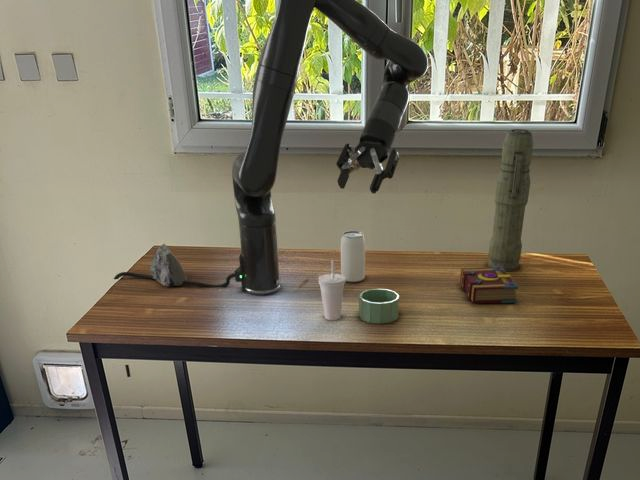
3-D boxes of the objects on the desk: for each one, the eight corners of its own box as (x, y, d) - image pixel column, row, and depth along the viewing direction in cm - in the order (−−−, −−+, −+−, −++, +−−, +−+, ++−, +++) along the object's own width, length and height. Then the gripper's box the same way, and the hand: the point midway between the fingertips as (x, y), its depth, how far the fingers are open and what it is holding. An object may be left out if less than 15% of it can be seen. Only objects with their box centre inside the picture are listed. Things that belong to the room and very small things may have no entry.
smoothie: (326, 324, 164) (325, 265, 156) (314, 314, 169) (313, 257, 161) (350, 319, 167) (350, 261, 159) (338, 310, 171) (337, 253, 163)
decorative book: (471, 305, 173) (473, 286, 171) (457, 282, 187) (459, 264, 184) (516, 303, 174) (519, 284, 171) (499, 281, 187) (501, 262, 185)
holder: (356, 321, 165) (356, 301, 163) (363, 306, 173) (363, 287, 170) (395, 324, 164) (395, 304, 161) (400, 309, 171) (401, 290, 169)
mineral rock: (153, 272, 194) (147, 235, 188) (192, 271, 195) (187, 234, 189) (145, 288, 184) (138, 250, 178) (186, 287, 184) (181, 249, 179)
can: (364, 282, 187) (365, 237, 180) (340, 282, 187) (340, 237, 180) (364, 274, 192) (365, 230, 185) (341, 274, 192) (340, 230, 185)
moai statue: (513, 258, 202) (531, 126, 182) (523, 272, 193) (543, 134, 173) (483, 259, 202) (497, 126, 182) (491, 273, 193) (507, 135, 173)
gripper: (349, 114, 163) (324, 175, 161) (403, 119, 157) (377, 183, 155) (361, 135, 169) (336, 194, 168) (413, 141, 163) (388, 202, 162)
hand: (356, 189), depth 162 cm, fingers open, 8 cm apart
